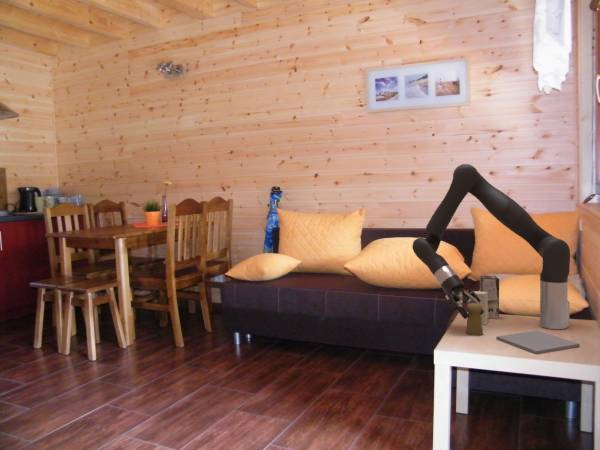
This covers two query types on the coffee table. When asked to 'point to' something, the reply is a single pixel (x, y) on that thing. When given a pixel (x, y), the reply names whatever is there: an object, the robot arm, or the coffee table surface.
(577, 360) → the coffee table surface
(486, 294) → the skincare box
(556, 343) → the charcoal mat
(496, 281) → the coffee box
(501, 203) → the robot arm
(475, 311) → the cork
